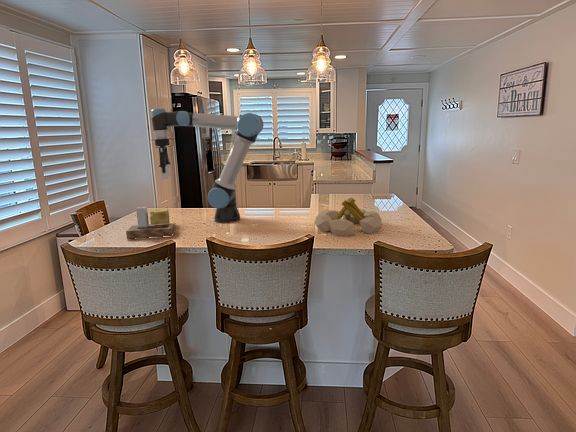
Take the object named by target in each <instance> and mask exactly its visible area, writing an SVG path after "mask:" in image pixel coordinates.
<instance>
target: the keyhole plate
mask: <svg viewBox="0 0 576 432" xmlns="http://www.w3.org/2000/svg"><path fill="white" fill-rule="evenodd" d="M174 231H175V232H176V224H175V222H174V223H173V222H171V223H170V222H169V223H167V224H150V223H149V226H148V227H147V228H143V229H141V228H138V224H132V225H131V226H130V227H129V228H127V229H126V230H125V234H126V240H127V239H131V240H136V239H135V238H149V237H163V236H172V234H173V233H174ZM174 234H175V233H174ZM174 234H173V235H174ZM172 237H173V236H172ZM149 239H150V238H149Z"/></svg>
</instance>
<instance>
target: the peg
mask: <svg viewBox="0 0 576 432" xmlns="http://www.w3.org/2000/svg"><path fill="white" fill-rule="evenodd" d="M135 209H136V210H135V211H136V218H137V220H136V221H137V225H138V228H141V229H143V228H147V227H148V226H149V224H150V222H149V221H150V219H149V211H148V206H146V205H145V206H137V207H136V208H135Z"/></svg>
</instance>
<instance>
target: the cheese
mask: <svg viewBox="0 0 576 432" xmlns="http://www.w3.org/2000/svg"><path fill="white" fill-rule="evenodd" d="M149 216H150V217H149V221H150V222H149V224H167V223H170V212H169V208H168V207H165V208H164V207H162V208H151V209H149Z"/></svg>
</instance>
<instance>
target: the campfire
mask: <svg viewBox="0 0 576 432" xmlns="http://www.w3.org/2000/svg"><path fill="white" fill-rule="evenodd" d="M355 202H356V200H355V199H354V198H353V197H350V198H347V200H346V199H345V200H343V202H341V205H342V206H343V207H342V208H341V209H340V211H339V210H334V209H326V210H322V211H320V212H319V213H318V215H316V216H315V220H314V225H316V227H317V229H318V230H319V231H320V232H322V233H325V232H327V233H328V232H331V233H332V234H333V235H334V236H335V235H337V236H338V237H349V236H353V235H355V227H354V226H355V225H354V224H360V227H361V229H362V232H363V233H364V234H369V235H372V234H375V233H379V230H380V229H381V228H382V221H383V220H382V217H381V216H380V214H379V213H378V212H376V211H375V210H370V211H367V210H366V209H362V208H359V207H358V205H357V204H356V203H355Z"/></svg>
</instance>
